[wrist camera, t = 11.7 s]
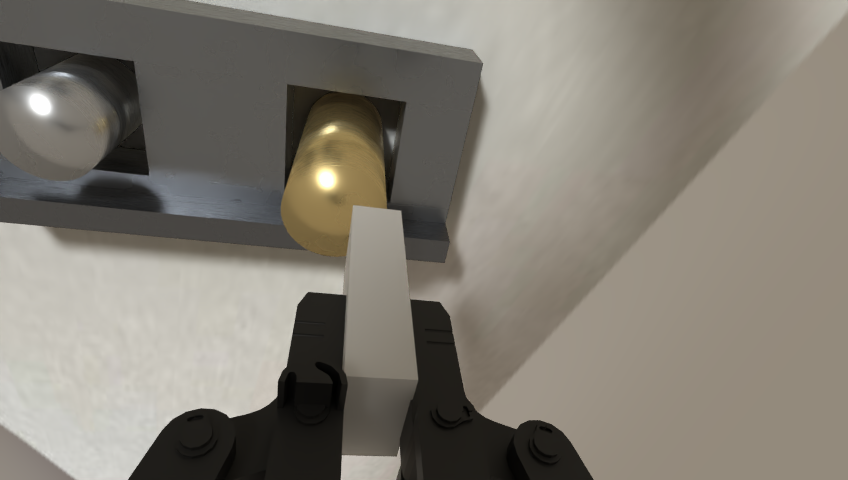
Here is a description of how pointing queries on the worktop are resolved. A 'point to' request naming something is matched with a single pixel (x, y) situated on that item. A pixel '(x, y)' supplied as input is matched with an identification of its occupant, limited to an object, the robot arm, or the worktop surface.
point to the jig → (235, 118)
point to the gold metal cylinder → (334, 172)
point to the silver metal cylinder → (68, 116)
